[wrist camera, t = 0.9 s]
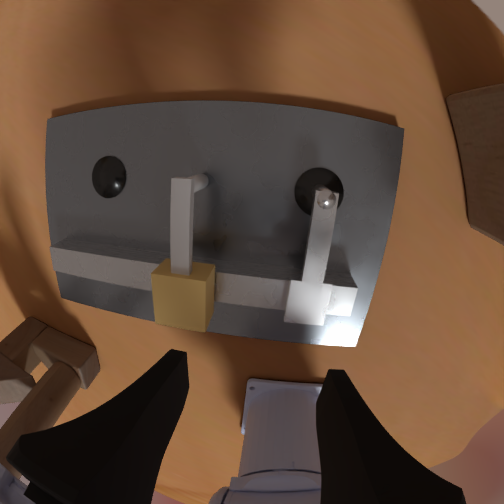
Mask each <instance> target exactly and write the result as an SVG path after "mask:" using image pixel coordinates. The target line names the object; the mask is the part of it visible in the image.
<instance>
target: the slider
mask: <svg viewBox="0 0 504 504" xmlns="http://www.w3.org/2000/svg"><path fill="white" fill-rule="evenodd" d="M208 182H209V180H208V177H207V176H206V175H205V174H197V175H194V176H190V177H174V178H171V207H170V253H171V259H169V258H166V259H165V260H164V261H163V262H162V263H161V264H160V265H159V266H158V267H157V268H156V269H155V270H154V271H153V272H152V273H151V282H152V295H153V306H154V315H155V323H156V324H160V325H165V326H170V327H175V328H181V329H186V330H192V331H197V332H203V333H205V332H206V330H207V327H208V325H209V322H210V320H211V317H212V315H213V313H214V285H215V265H214V264H207V263H199V262H192V247H193V210H194V193H195V192H197V191H199V190H201V189H203V188H205V187H206V186H207V185H208Z"/></svg>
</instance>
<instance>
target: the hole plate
mask: <svg viewBox="0 0 504 504" xmlns="http://www.w3.org/2000/svg"><path fill="white" fill-rule="evenodd" d="M403 137H404V128H400V127H397V126H393V125H390V124H386V123H382V122H378V121H374V120H370V119H365V118H361V117H356V116H352V115H347V114H341V113H336V112H331V111H325V110H319V109H312V108H305V107H298V106H289V105H280V104H270V103H258V102H242V101H168V102H152V103H140V104H130V105H122V106H114V107H107V108H100V109H94V110H88V111H82V112H77V113H72V114H67V115H63V116H58V117H54V118H50V119H47V132H46V157H45V174H46V199H47V213H48V223H49V232H50V240H51V246H50V252H51V258H52V264H53V269H54V271H56V276H57V281H58V285H59V290H60V294H61V298H64V299H67V300H71V301H74V302H77V303H81V304H85V305H88V306H92V307H96V308H99V309H103V310H107V311H111V312H115V313H119V314H123V315H127V316H132V317H136V318H141V319H145V320H150V321H154V322H155V315H154V306H153V295H152V282H151V273H152V272H153V271H154V270H155V269H156V268H157V267H158V266H159V265H160V264H161V263H162V262H163V261H164V260H165V259H166V258H169V259H171V253H170V207H171V178H174V177H190V176H194V175H197V174H205V175H206V176H207V177H208V180H209V182H208V185H207V186H206V187H205V188H203V189H201V190H199V191H197V192H195V193H194V210H193V247H192V262H199V263H207V264H214V265H215V285H214V313H213V315H212V317H211V320H210V322H209V325H208V327H207V330H206V331H208V332H214V333H221V334H227V335H234V336H242V337H249V338H257V339H265V340H274V341H284V342H294V343H306V344H319V345H334V346H354V347H355V346H356V343H357V340H358V338H359V335H360V332H361V329H362V326H363V323H364V320H365V317H366V314H367V311H368V308H369V305H370V302H371V298H372V295H373V292H374V288H375V285H376V281H377V278H378V274H379V270H380V266H381V263H382V259H383V255H384V251H385V246H386V242H387V238H388V233H389V229H390V224H391V219H392V214H393V208H394V203H395V197H396V191H397V185H398V179H399V172H400V164H401V156H402V147H403Z"/></svg>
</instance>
